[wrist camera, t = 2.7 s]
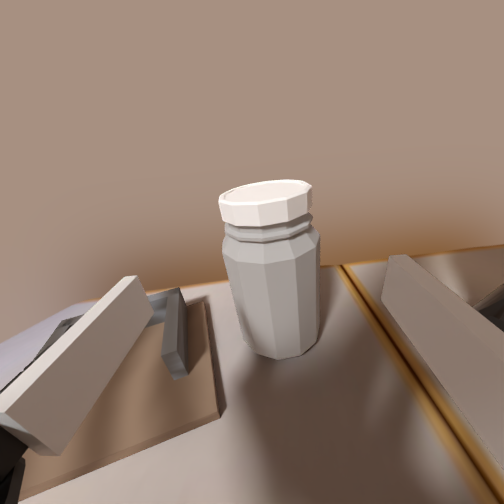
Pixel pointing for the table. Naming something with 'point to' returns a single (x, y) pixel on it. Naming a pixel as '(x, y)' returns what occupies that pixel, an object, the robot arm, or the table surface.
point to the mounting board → (139, 395)
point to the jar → (273, 265)
